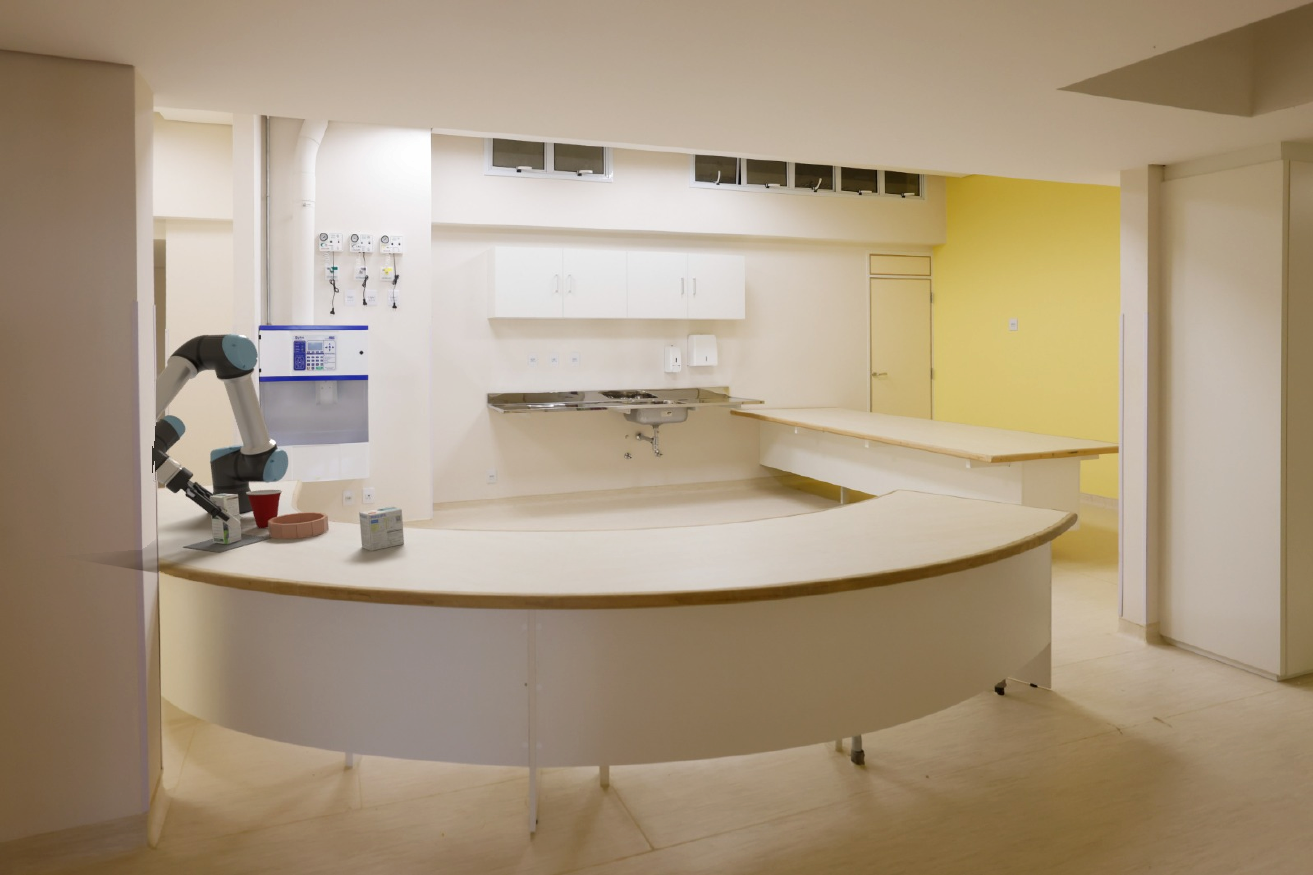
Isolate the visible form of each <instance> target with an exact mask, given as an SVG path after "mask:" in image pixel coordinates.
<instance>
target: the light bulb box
mask: <svg viewBox="0 0 1313 875" xmlns="http://www.w3.org/2000/svg"><path fill="white" fill-rule="evenodd" d="M358 515H359V524H360V525H359V526H360V540H361V548H363V549H365V550H368V551H370V552H373V551H376V550H383V549H385V548H391V547H395V546H400V545H404V544H405V538H404V522H403V521H404V520H403V510H402V508H398V507H394V506H387V507H382V508H376V509H372V510H365V511H359V514H358Z"/></svg>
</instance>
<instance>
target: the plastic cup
mask: <svg viewBox="0 0 1313 875" xmlns="http://www.w3.org/2000/svg"><path fill="white" fill-rule="evenodd" d="M282 492H283V490H282V489H260V490H259V489H257V490H251V491H250V492H246V494H247V495H248V497H249V500H250V503H251V507H252V510H251V511H252V514H253V515H252V516H253V518H254V520H255V524H256V528H258V529H269V528H268V520H270V519H272V518H274V517H278V515H279V514H278V513H279V505H280V504H279V503H280V497H281V494H282Z"/></svg>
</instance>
